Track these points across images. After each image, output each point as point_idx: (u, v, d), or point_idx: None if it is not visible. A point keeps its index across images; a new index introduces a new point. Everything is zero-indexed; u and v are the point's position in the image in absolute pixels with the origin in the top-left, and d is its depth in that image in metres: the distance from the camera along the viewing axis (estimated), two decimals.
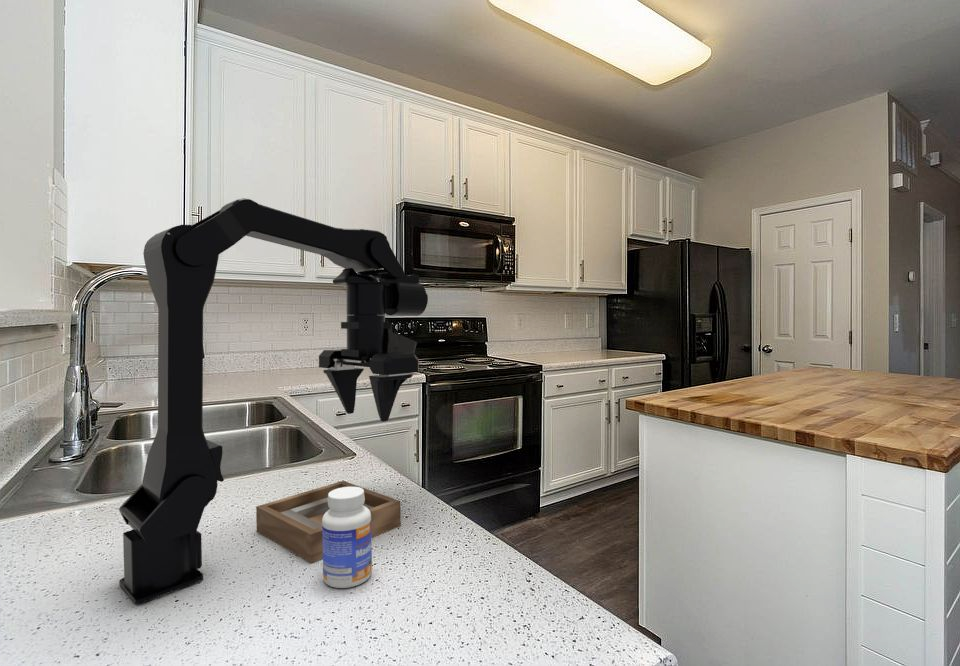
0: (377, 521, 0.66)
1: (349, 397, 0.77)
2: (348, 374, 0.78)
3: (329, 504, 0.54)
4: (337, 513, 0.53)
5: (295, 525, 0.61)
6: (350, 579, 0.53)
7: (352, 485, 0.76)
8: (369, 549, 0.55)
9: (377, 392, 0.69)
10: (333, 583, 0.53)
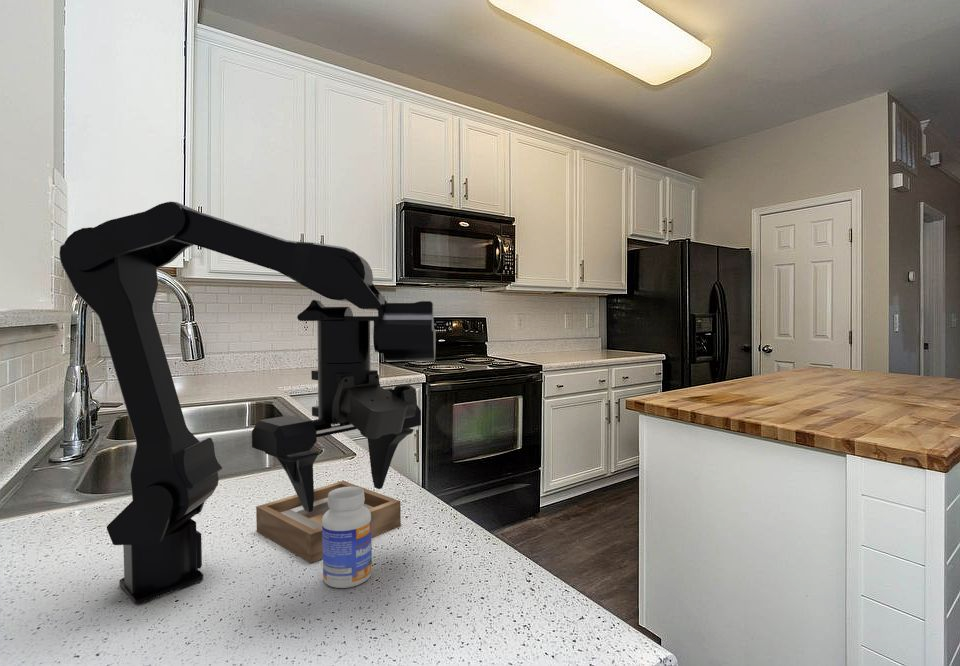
0: (377, 521, 0.66)
1: (376, 466, 0.59)
2: (380, 437, 0.59)
3: (329, 504, 0.54)
4: (337, 513, 0.53)
5: (295, 525, 0.61)
6: (350, 579, 0.53)
7: (352, 485, 0.76)
8: (369, 549, 0.55)
9: (283, 467, 0.52)
10: (333, 583, 0.53)
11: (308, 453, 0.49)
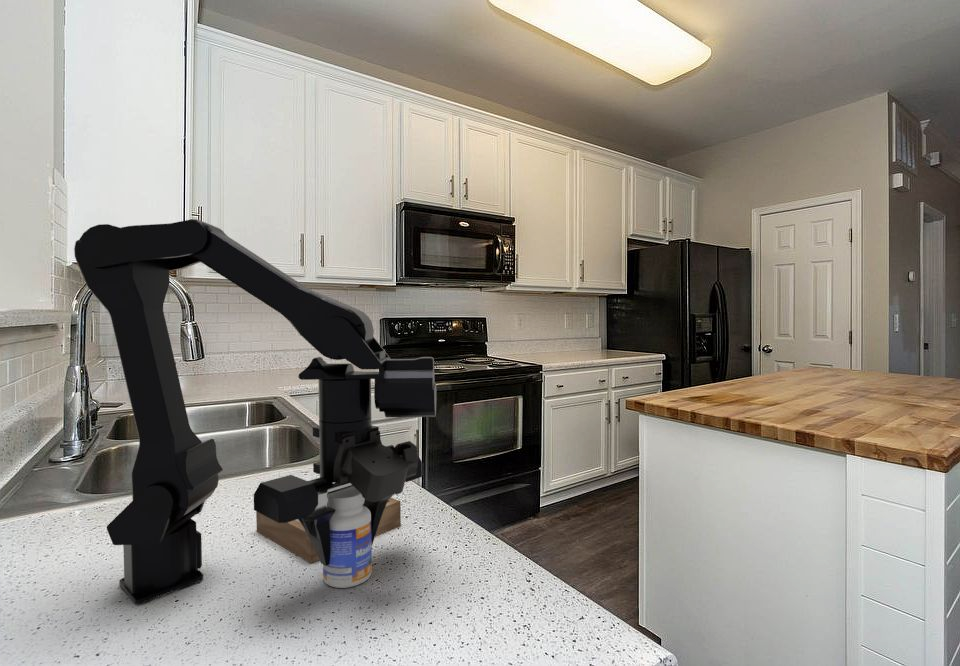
0: None
1: None
2: None
3: (329, 504, 0.54)
4: (337, 512, 0.53)
5: (295, 525, 0.61)
6: (350, 578, 0.53)
7: None
8: (369, 549, 0.55)
9: (300, 521, 0.53)
10: (333, 583, 0.53)
11: (325, 511, 0.50)
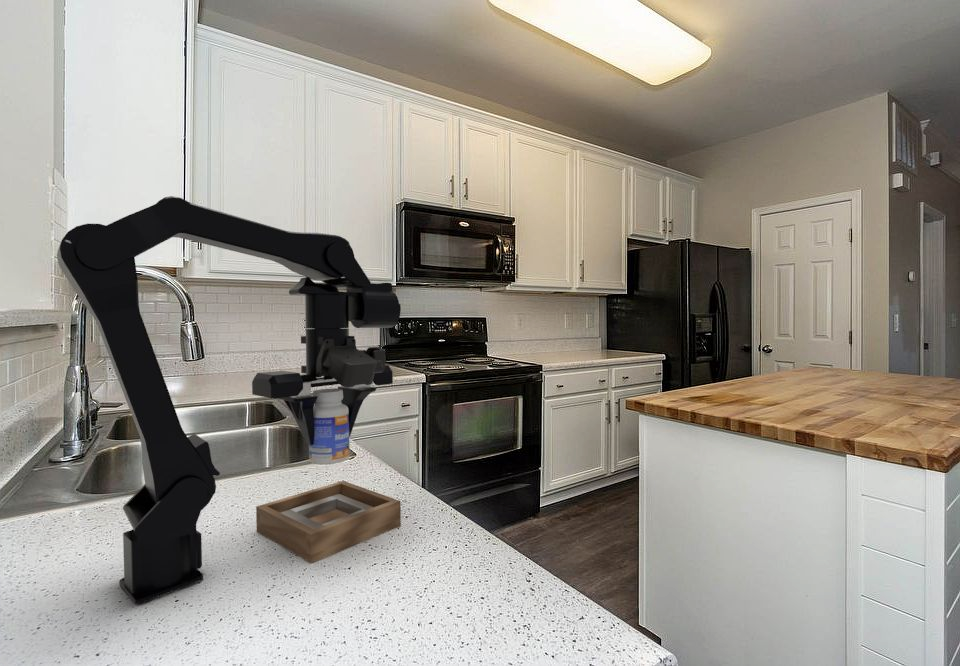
0: (377, 521, 0.66)
1: None
2: (348, 394, 0.70)
3: None
4: (320, 404, 0.66)
5: (295, 525, 0.61)
6: (330, 457, 0.65)
7: (352, 485, 0.76)
8: (346, 436, 0.67)
9: (290, 410, 0.66)
10: (317, 461, 0.65)
11: (309, 396, 0.63)
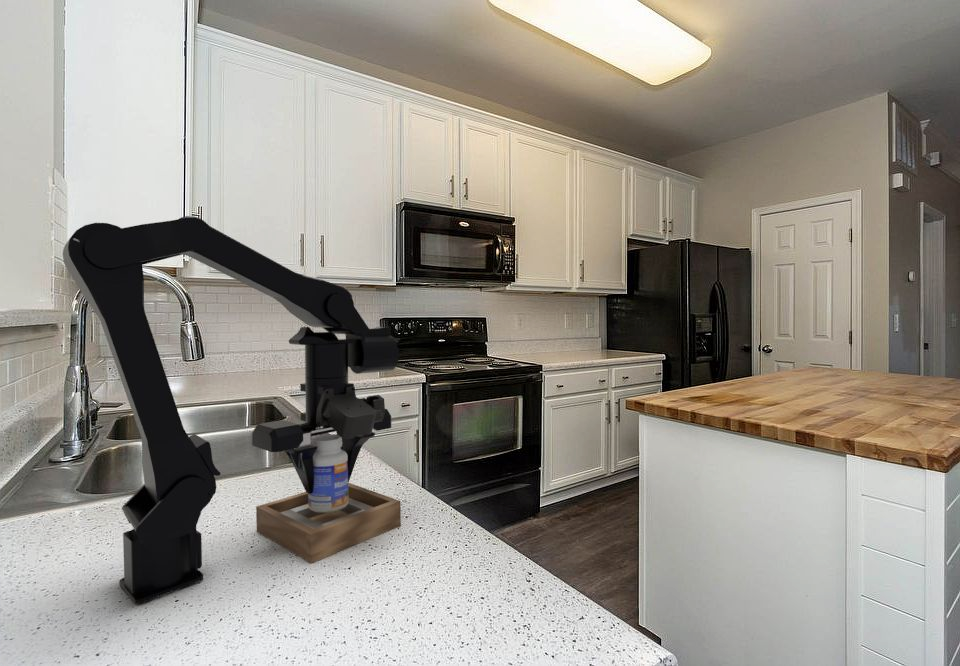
0: (377, 521, 0.66)
1: None
2: (347, 439, 0.70)
3: None
4: (319, 452, 0.66)
5: (295, 525, 0.61)
6: (329, 505, 0.66)
7: (352, 485, 0.76)
8: (346, 483, 0.67)
9: (289, 458, 0.66)
10: (316, 509, 0.66)
11: (309, 447, 0.63)
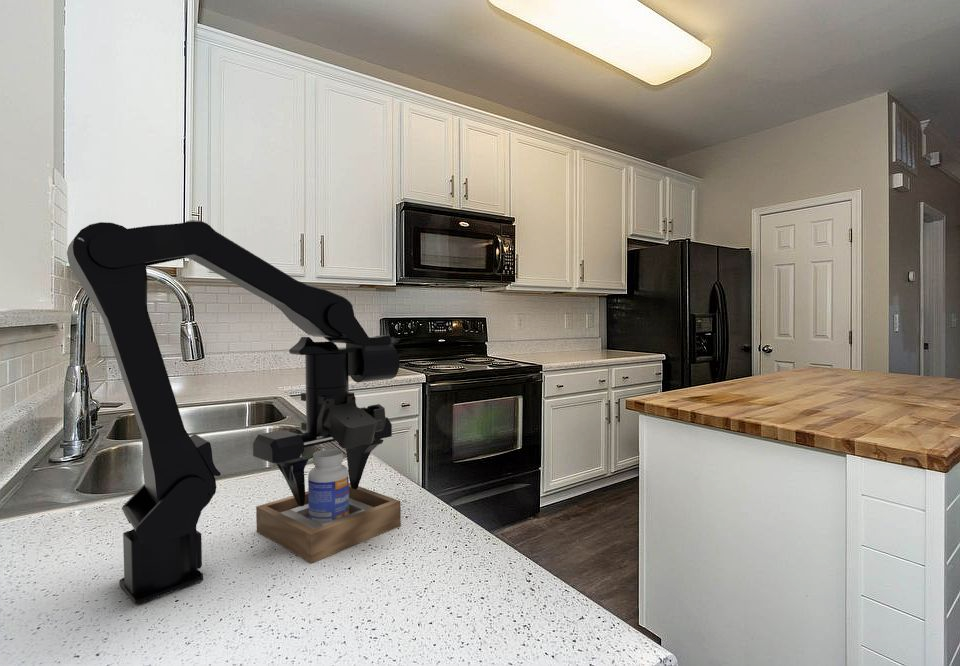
0: (377, 521, 0.66)
1: (353, 471, 0.71)
2: (356, 446, 0.72)
3: (314, 462, 0.67)
4: (320, 468, 0.66)
5: (295, 525, 0.61)
6: None
7: None
8: (346, 499, 0.68)
9: (280, 470, 0.65)
10: None
11: (300, 459, 0.62)
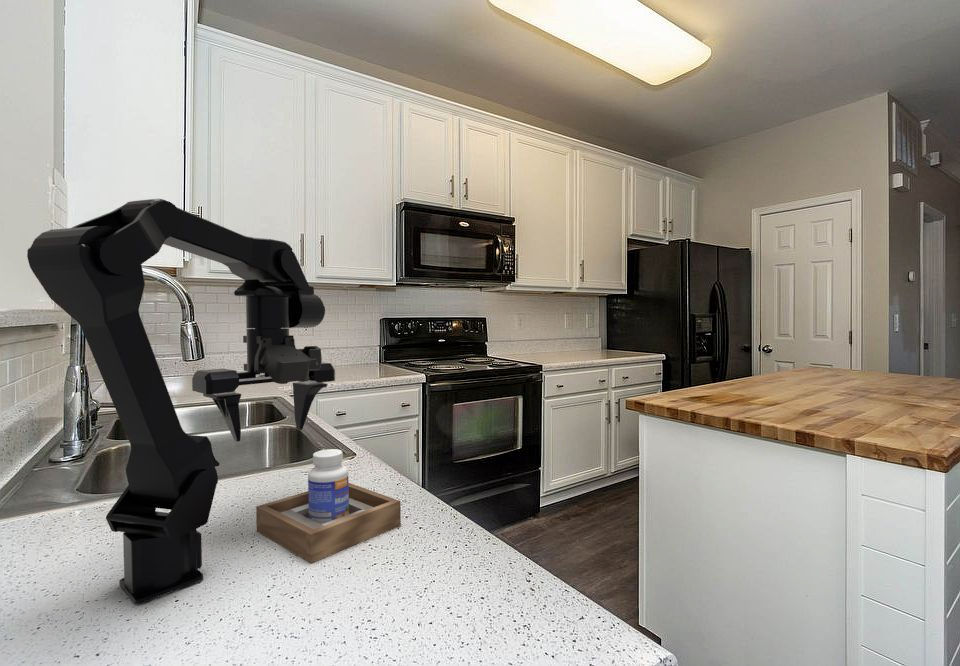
0: (377, 521, 0.66)
1: (298, 413, 0.75)
2: (301, 389, 0.75)
3: (313, 462, 0.67)
4: (320, 468, 0.66)
5: (295, 525, 0.61)
6: None
7: (352, 485, 0.76)
8: (346, 499, 0.68)
9: (218, 407, 0.68)
10: None
11: (233, 394, 0.65)
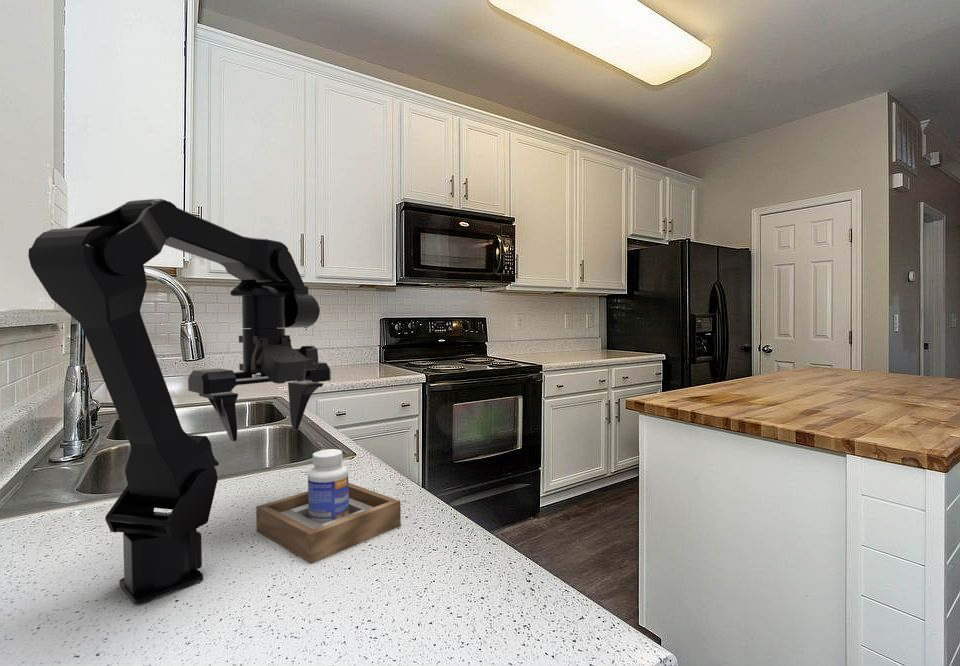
0: (377, 521, 0.66)
1: (294, 412, 0.75)
2: (297, 389, 0.75)
3: (313, 462, 0.67)
4: (320, 468, 0.66)
5: (295, 525, 0.61)
6: None
7: (352, 485, 0.76)
8: (346, 499, 0.68)
9: (214, 407, 0.68)
10: None
11: (229, 394, 0.65)
